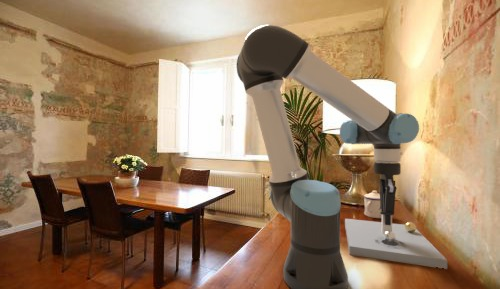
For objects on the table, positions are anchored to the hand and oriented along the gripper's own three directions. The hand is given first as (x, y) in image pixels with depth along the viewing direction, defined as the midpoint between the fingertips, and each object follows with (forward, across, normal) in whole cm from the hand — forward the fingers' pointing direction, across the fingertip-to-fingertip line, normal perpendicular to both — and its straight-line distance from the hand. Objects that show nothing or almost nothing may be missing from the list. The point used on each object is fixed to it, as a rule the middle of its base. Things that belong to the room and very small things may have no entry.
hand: (386, 233), depth 76 cm
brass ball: (0, +9, -9) cm, 13 cm away
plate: (+4, +3, 0) cm, 5 cm away
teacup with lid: (+4, +34, -1) cm, 34 cm away
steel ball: (0, -2, 0) cm, 3 cm away
